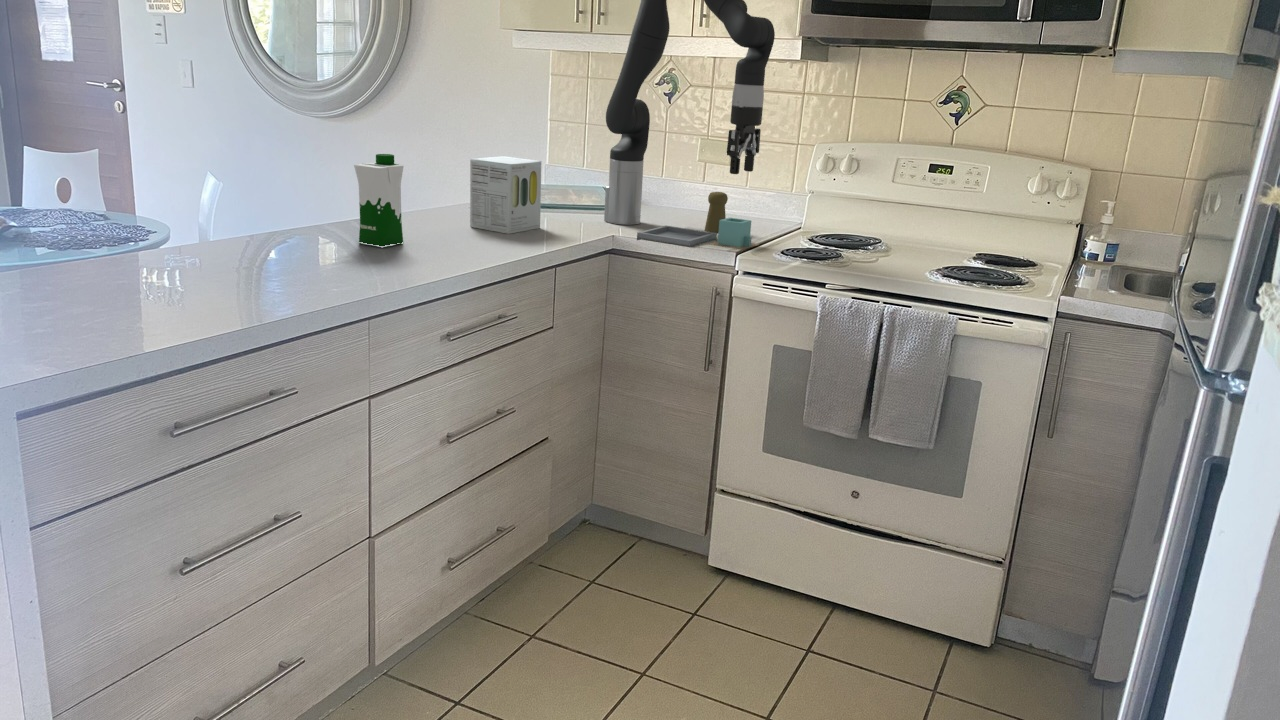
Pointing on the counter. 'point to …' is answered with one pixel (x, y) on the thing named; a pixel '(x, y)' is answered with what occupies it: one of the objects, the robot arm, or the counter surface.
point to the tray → (676, 236)
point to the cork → (715, 211)
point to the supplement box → (505, 194)
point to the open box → (734, 232)
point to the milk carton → (380, 201)
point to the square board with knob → (732, 246)
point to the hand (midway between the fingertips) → (741, 172)
